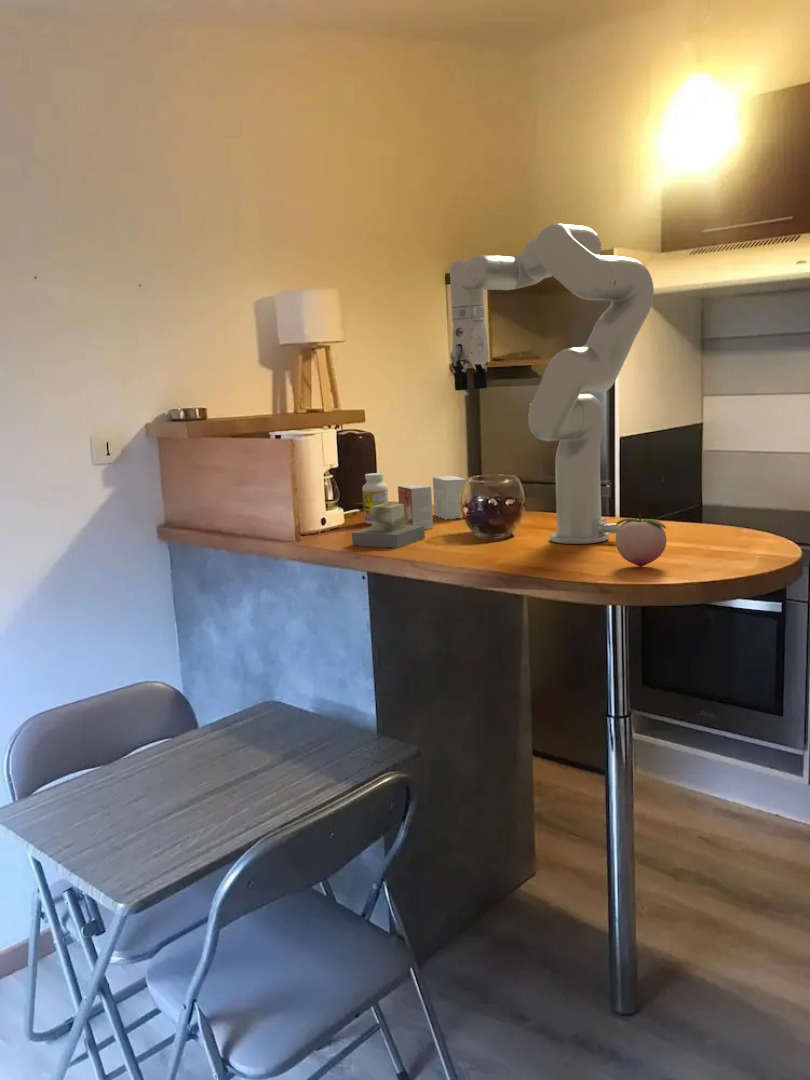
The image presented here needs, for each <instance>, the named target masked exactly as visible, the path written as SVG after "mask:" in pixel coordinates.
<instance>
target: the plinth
mask: <svg viewBox="0 0 810 1080" xmlns="http://www.w3.org/2000/svg"><path fill="white" fill-rule="evenodd" d="M351 538H352V539H351V541H352V546H353V545H359V546H358V547H366V546H374V547H373V548H384V547H392V548H391V549H399V548H401V546H402V547H405V546H408V545H411V544H413V543H412V542H414V543H416V542H415V541H417V540H419V541H421V540H420V539H422V540H424V539H423V538H425V539H426V535H425V530H424V526H415V525H405V528H403V529H399V530H396V531H393V532H386V531H372V526H370V527H367V528H366V527H365V528H364V529H360V530H357V531H354V532H351ZM417 542H418V541H417ZM410 543H411V544H410ZM407 544H408V545H407ZM404 545H405V546H404ZM398 547H399V548H398Z"/></svg>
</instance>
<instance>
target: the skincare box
mask: <svg viewBox="0 0 810 1080" xmlns="http://www.w3.org/2000/svg"><path fill="white" fill-rule="evenodd" d="M467 480H468V479H467V478H463V477H459V476H456V475H446V476H432V486H433V487H432V491H433V515H436V516H435V517H437V516H438V517H437V518H440V517H441V518H440V519H442V518H443V519H442V520H445V521H448V520H447V519H450V520H457V519H456V518H460V519H463V518H462V516H461V511H460V494H461V491H462V488H463V486H464V484H465V483H466V481H467ZM467 482H468V481H467Z"/></svg>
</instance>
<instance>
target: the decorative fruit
mask: <svg viewBox="0 0 810 1080" xmlns="http://www.w3.org/2000/svg"><path fill="white" fill-rule="evenodd" d="M638 515H639V518H635V517H630V518H622V519H620V520H619V521H617V522H616V523H615V524H616V525H618V524H619V525H620V524H621V525H620V527H619V528H618V530H617V533H615V534H616V535H615V546H616V550H617V552H618V553H619V555H620V556H621V558H622V559H624V560H625V561H627V562H630V563H631V564H633V565H634V566H637V567H639V568H642V567H644V566H647V565H650V564H651V563H652V562H654V561H656V560H657V559H659V557H660V556H661V555H662V554H663V552H664V551H665V549H666V546H667V543H668V542H667V541H668V540H667V535H666V531H665V529H667V527H666V525H665V524H664V523H662V521H660V520H658V519H654V518H645V519H642V513H639V514H638Z"/></svg>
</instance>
